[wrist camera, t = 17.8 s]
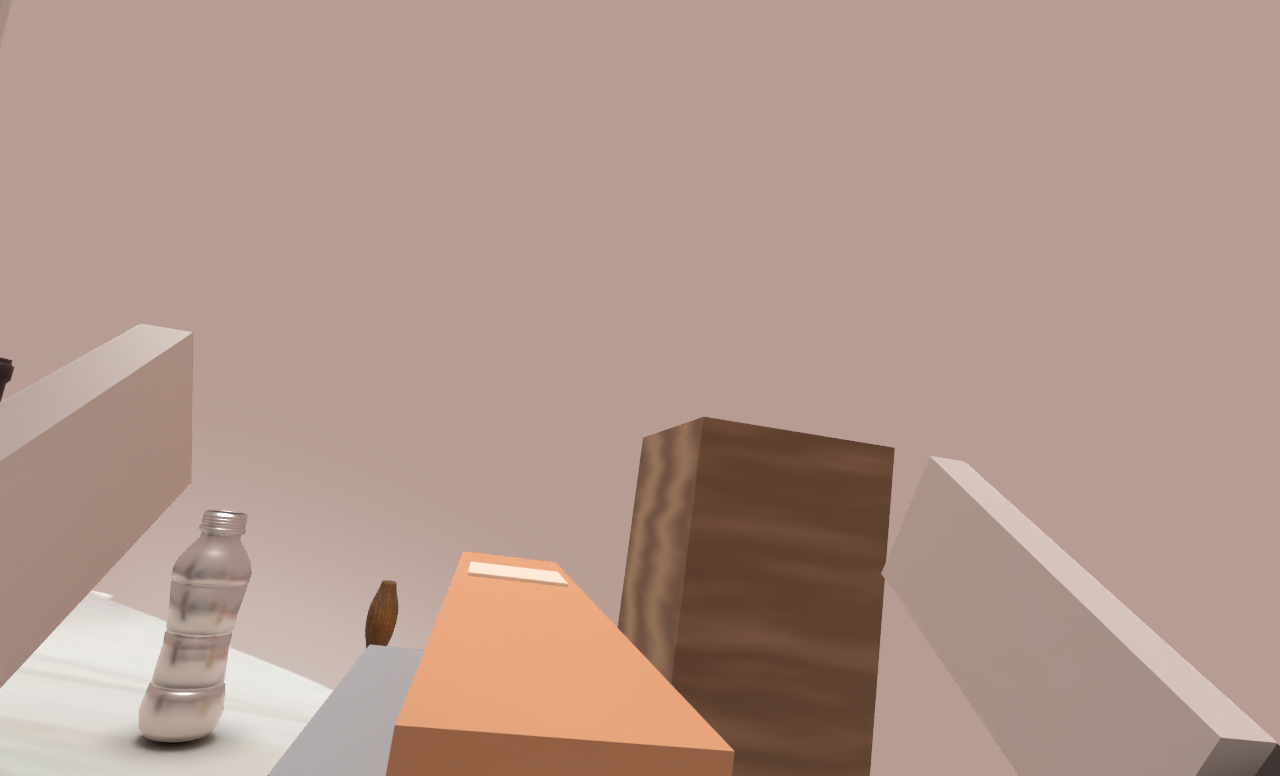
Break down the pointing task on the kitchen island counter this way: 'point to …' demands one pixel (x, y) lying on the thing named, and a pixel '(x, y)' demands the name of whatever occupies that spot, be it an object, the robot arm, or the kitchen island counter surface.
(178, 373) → the robot arm
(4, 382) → the wine bottle
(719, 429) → the tall wooden block
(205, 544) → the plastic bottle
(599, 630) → the bar
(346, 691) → the grey rectangular block
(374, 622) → the hand bell
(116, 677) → the kitchen island counter surface
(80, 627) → the kitchen island counter surface
